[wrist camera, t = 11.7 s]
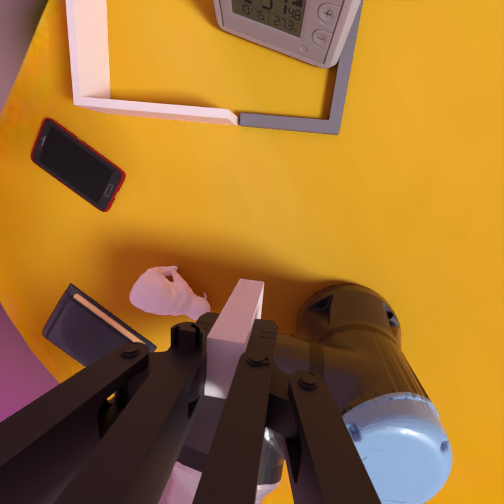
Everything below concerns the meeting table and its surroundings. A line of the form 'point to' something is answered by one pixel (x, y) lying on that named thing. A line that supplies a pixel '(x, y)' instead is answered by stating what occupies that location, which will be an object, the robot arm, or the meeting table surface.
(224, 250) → the meeting table surface
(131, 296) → the pale pink lumpy piece
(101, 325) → the wallet
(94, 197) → the cell phone
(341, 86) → the frame
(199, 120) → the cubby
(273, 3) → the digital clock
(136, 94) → the meeting table surface
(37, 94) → the meeting table surface
